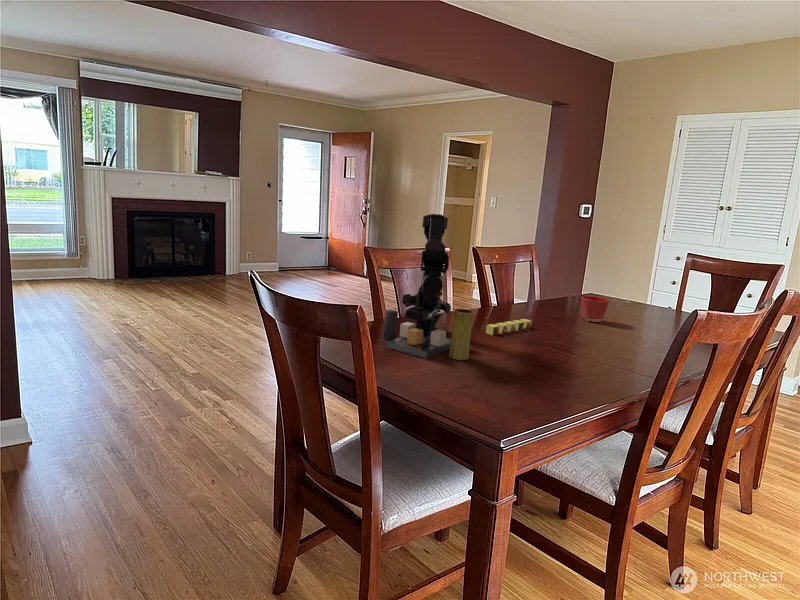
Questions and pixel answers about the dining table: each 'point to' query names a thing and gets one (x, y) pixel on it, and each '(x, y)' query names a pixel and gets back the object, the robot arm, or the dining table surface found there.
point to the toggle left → (406, 329)
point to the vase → (461, 334)
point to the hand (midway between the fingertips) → (426, 336)
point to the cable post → (390, 324)
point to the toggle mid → (415, 336)
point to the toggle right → (438, 337)
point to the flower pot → (594, 307)
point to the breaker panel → (418, 347)
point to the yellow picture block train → (507, 326)
